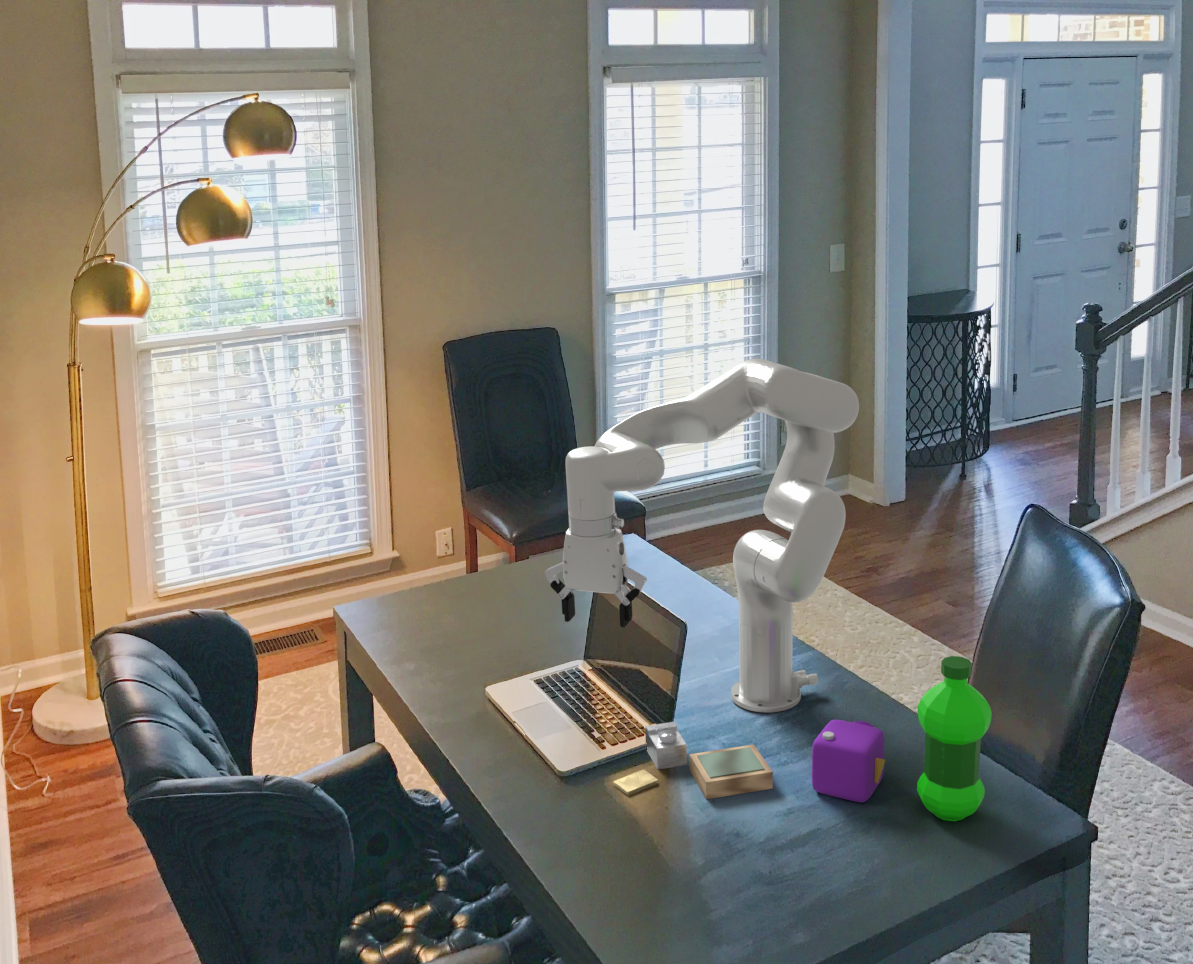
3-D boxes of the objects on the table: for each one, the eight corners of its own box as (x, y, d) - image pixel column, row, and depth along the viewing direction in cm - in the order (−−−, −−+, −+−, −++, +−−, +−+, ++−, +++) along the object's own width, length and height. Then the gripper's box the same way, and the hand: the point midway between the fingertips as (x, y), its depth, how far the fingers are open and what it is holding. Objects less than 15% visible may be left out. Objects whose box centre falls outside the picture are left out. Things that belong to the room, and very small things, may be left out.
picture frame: (753, 760, 210) (753, 743, 209) (772, 788, 202) (772, 770, 201) (689, 770, 208) (689, 753, 207) (706, 799, 200) (705, 781, 199)
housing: (645, 749, 216) (645, 723, 214) (674, 745, 217) (673, 718, 215) (657, 770, 209) (656, 743, 208) (686, 765, 210) (686, 738, 209)
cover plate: (643, 775, 208) (643, 769, 208) (658, 786, 205) (658, 779, 205) (613, 787, 205) (613, 781, 205) (627, 798, 202) (627, 792, 202)
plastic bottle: (941, 786, 201) (947, 641, 193) (998, 813, 193) (1008, 663, 185) (900, 810, 195) (905, 661, 187) (958, 839, 187) (966, 685, 179)
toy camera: (889, 764, 208) (891, 709, 204) (879, 809, 195) (880, 751, 192) (823, 756, 211) (823, 701, 208) (808, 799, 199) (809, 742, 196)
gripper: (650, 519, 205) (654, 617, 210) (550, 512, 211) (556, 607, 216) (636, 535, 198) (640, 636, 204) (533, 527, 204) (540, 625, 209)
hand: (597, 621), depth 210 cm, fingers open, 9 cm apart
